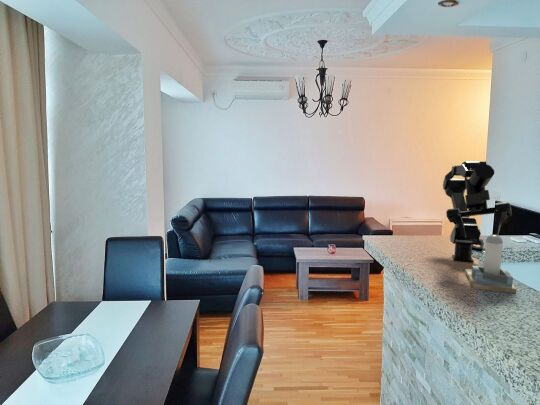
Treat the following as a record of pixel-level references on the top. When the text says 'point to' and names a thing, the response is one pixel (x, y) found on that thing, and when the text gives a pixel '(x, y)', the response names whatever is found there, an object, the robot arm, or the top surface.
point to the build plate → (479, 247)
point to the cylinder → (493, 255)
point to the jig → (490, 280)
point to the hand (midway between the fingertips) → (480, 236)
